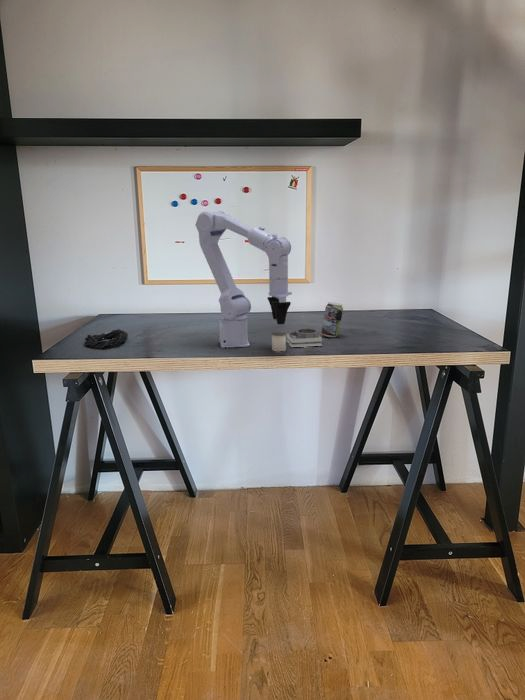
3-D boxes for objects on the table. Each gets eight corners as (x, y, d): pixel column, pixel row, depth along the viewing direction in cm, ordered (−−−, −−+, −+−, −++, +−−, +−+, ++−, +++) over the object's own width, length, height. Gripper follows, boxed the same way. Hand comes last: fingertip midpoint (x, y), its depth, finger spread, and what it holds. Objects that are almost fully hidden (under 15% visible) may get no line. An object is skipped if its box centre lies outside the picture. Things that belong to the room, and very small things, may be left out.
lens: (272, 352, 161) (272, 334, 160) (270, 349, 166) (270, 330, 164) (287, 352, 162) (287, 333, 161) (284, 348, 166) (284, 330, 165)
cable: (123, 350, 168) (122, 337, 167) (79, 351, 167) (78, 338, 166) (130, 337, 185) (129, 325, 184) (90, 339, 183) (88, 327, 182)
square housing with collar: (291, 348, 166) (291, 334, 165) (286, 342, 174) (286, 329, 173) (321, 346, 168) (321, 333, 167) (315, 340, 175) (315, 327, 174)
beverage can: (318, 335, 183) (318, 302, 180) (336, 333, 185) (337, 300, 182) (326, 339, 177) (327, 305, 174) (345, 337, 180) (346, 303, 176)
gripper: (296, 280, 152) (295, 325, 155) (286, 275, 165) (287, 316, 169) (272, 281, 151) (272, 326, 154) (265, 275, 165) (265, 317, 168)
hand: (278, 321), depth 162 cm, fingers open, 7 cm apart
